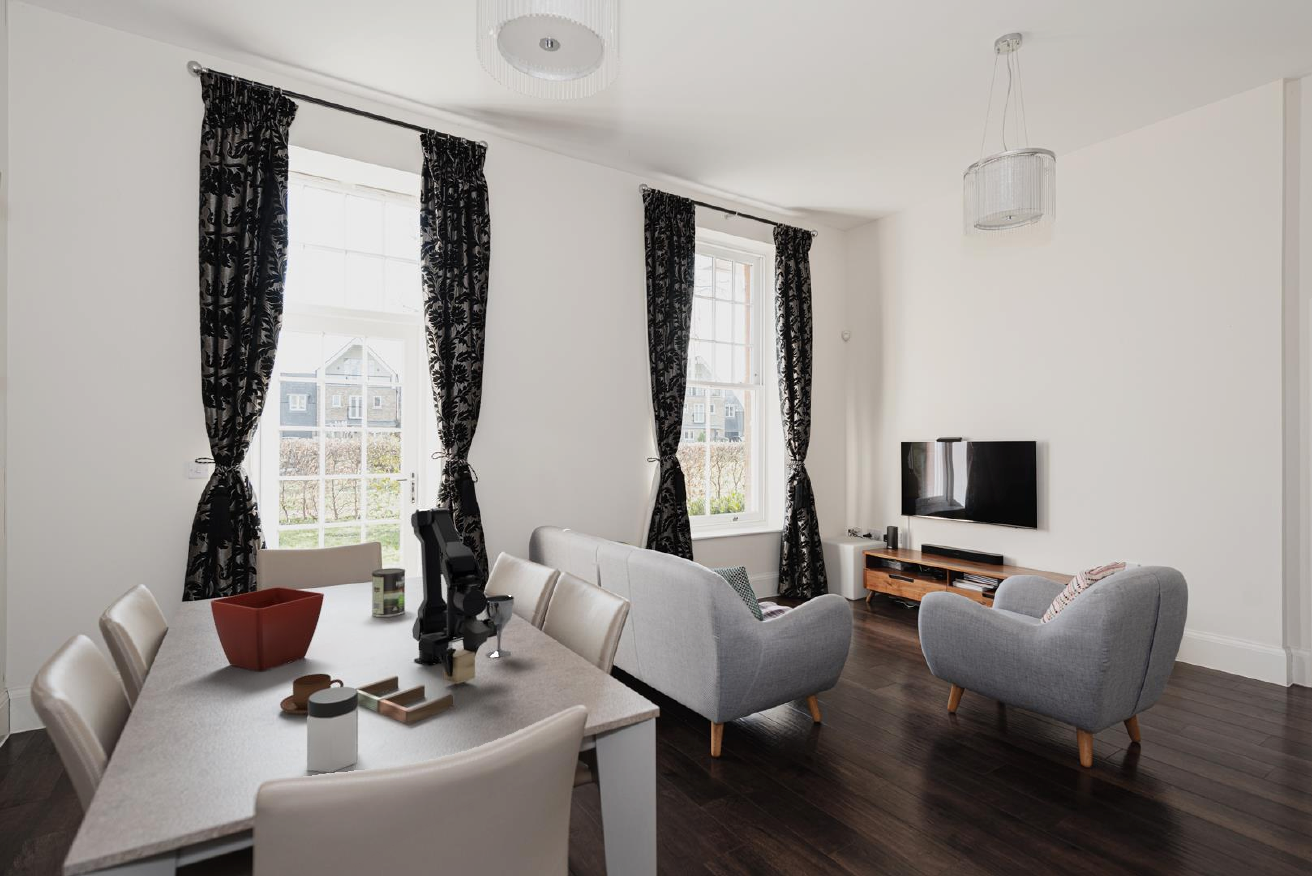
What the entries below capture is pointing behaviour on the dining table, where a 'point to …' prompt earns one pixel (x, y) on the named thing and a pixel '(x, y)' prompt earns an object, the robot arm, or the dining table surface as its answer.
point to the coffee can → (388, 592)
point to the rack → (400, 701)
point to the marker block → (462, 666)
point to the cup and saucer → (306, 692)
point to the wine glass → (499, 619)
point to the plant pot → (267, 626)
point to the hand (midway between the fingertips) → (459, 673)
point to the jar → (332, 729)
